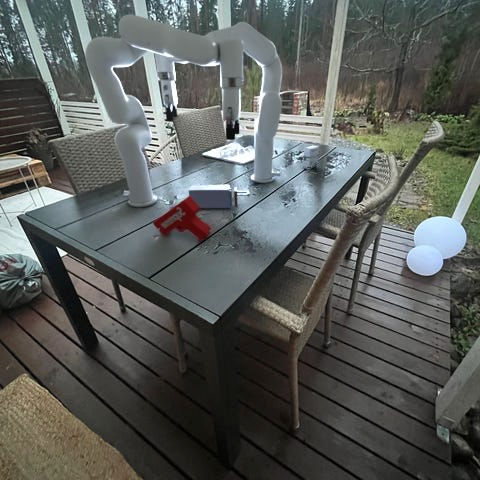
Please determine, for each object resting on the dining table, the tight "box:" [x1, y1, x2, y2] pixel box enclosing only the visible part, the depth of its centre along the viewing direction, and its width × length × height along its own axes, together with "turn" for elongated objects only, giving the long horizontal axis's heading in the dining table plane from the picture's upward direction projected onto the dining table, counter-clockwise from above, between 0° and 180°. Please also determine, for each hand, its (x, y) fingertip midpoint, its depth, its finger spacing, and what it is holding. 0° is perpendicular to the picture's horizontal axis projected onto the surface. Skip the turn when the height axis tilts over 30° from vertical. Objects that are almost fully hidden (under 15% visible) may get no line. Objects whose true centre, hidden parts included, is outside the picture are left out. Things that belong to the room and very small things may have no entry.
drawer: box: [230, 186, 251, 208], centre depth 116 cm, size 21×5×7 cm, turn 91°
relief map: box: [201, 141, 254, 165], centre depth 184 cm, size 27×35×5 cm
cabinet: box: [188, 184, 231, 211], centre depth 116 cm, size 17×6×9 cm, turn 91°
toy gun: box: [152, 195, 212, 243], centre depth 96 cm, size 18×4×15 cm
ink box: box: [301, 144, 320, 170], centre depth 160 cm, size 8×5×12 cm, turn 134°
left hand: (232, 136), depth 100 cm, fingers open, 9 cm apart
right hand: (172, 118), depth 129 cm, fingers open, 9 cm apart
